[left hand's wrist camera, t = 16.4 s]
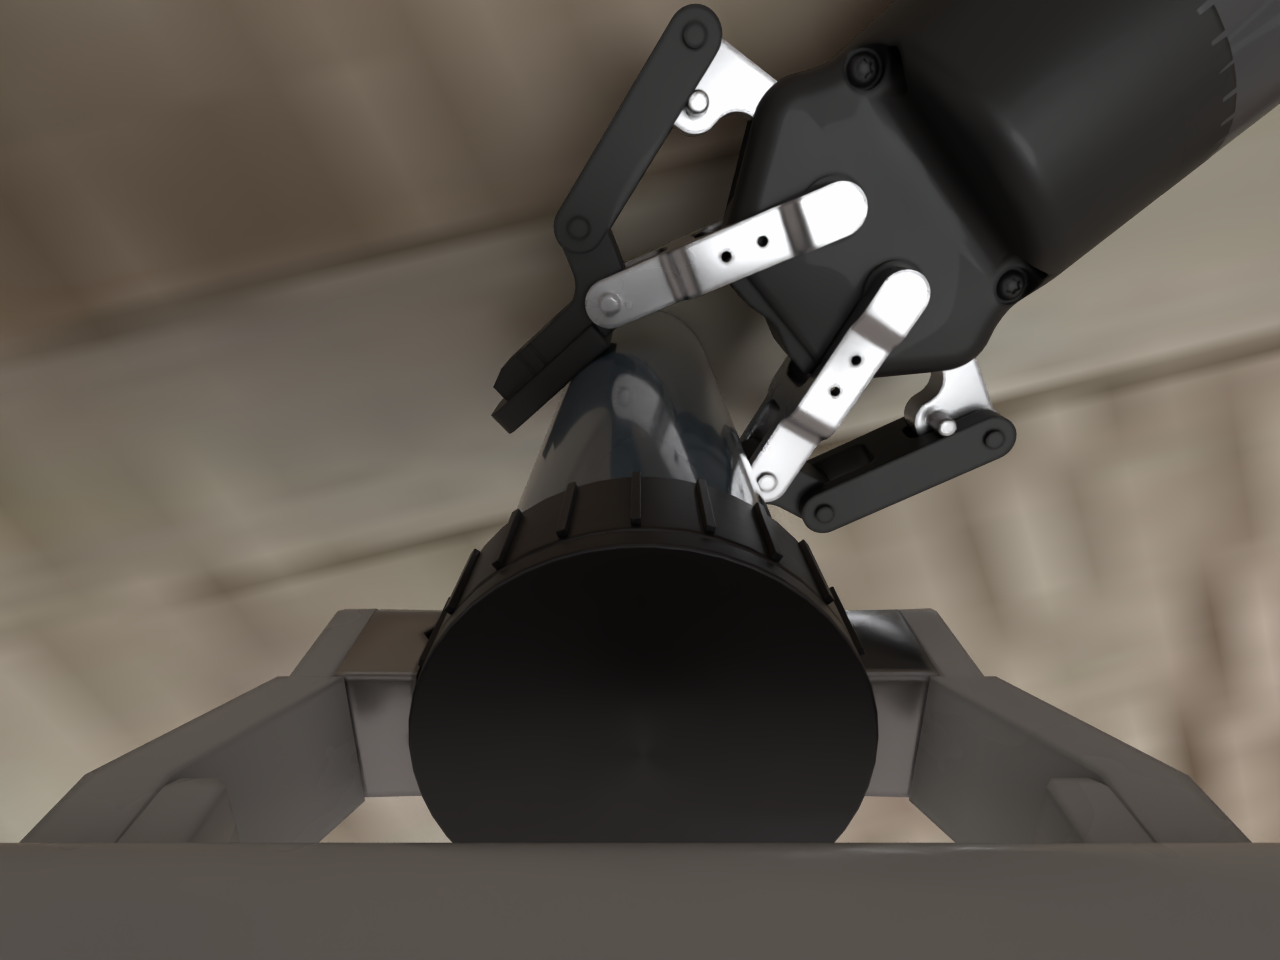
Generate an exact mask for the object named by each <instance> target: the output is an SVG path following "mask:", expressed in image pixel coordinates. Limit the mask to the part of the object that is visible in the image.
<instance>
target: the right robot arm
mask: <svg viewBox="0 0 1280 960" xmlns="http://www.w3.org/2000/svg"><path fill="white" fill-rule="evenodd" d="M1279 104H1280V0H895V1H894V2H893V3H891V4H890V5H889V6H888V7H887V8H886V9H885V10H884V11H883V12H882V13H881V14H880V15H879V16H878V17H876V18H875V19H874V20H873V21H872V22H871V23H870V24H869V25H868V26H867V27H866V28H865V29H864V30H862V31H861V32H860V33H859V34H858V35H857V36H856V37H855V38H854V39H853V40H852V41H851V42H850V43H849V44H847V45H846V46H845V47H844V48H843V49H842V50H841V51H840V52H839V53H838V54H837V55H835V56H834V57H833V58H832V59H831V60H830V61H829V62H827V63H825V64H823V65H821V66H819V67H817V68H814V69H811V70H808V71H803V72H799V73H794V74H791V75H788V76H786V77H784V78H782V79H780V80H779V81H778V82H777V81H776V80H775V79H773V78H772V77H771V76H770V75H768V74H767V73H766V72H765V71H763V70H762V69H761V68H760V67H758V66H757V65H756V64H754V63H753V62H752V61H751V60H749V59H748V58H747V57H746V56H744V55H743V54H742V53H740V52H739V51H738V50H737V49H735V48H734V47H733V46H732V45H730V44H729V43H728V42H727V41H725V40H724V39H723V38H722V28H721V24H720V21H719V19H718V17H717V16H716V14H715V13H714V12H713V11H712V10H711V9H710V8H708V7H706V6H704V5H701V4H690V5H687V6H685V7H683V8H681V9H680V10H678V11H677V12H676V13H675V15H674V16H673V18H672V19H671V21H670V23H669V24H668V26H667V28H666V29H665V31H664V33H663V34H662V36H661V38H660V40H659V41H658V43H657V45H656V46H655V48H654V50H653V51H652V53H651V55H650V57H649V58H648V60H647V62H646V63H645V65H644V67H643V68H642V70H641V72H640V74H639V75H638V77H637V79H636V80H635V82H634V84H633V85H632V87H631V89H630V91H629V92H628V94H627V96H626V97H625V99H624V101H623V102H622V104H621V106H620V108H619V109H618V111H617V113H616V114H615V116H614V118H613V119H612V121H611V123H610V125H609V126H608V128H607V130H606V131H605V133H604V135H603V136H602V138H601V140H600V142H599V143H598V145H597V147H596V148H595V150H594V152H593V153H592V155H591V157H590V159H589V160H588V162H587V164H586V165H585V167H584V169H583V170H582V172H581V174H580V176H579V177H578V179H577V181H576V182H575V184H574V186H573V187H572V189H571V191H570V193H569V194H568V196H567V198H566V199H565V201H564V203H563V204H562V206H561V208H560V210H559V211H558V213H557V215H556V217H555V221H554V233H555V237H556V239H557V241H558V243H559V244H560V245H561V246H562V247H563V250H564V252H565V254H566V257H567V259H568V262H569V264H570V267H571V269H572V271H573V274H574V277H575V282H576V289H575V295H574V298H573V300H572V301H571V302H570V303H569V304H568V305H567V306H566V307H565V308H564V309H563V310H561V311H560V312H559V313H558V314H557V315H556V316H555V317H554V318H553V319H552V320H551V321H550V322H549V323H547V324H546V325H545V326H544V327H543V328H542V329H541V330H540V331H539V332H538V333H537V334H536V335H535V336H533V337H532V338H531V339H530V340H529V341H528V342H527V343H526V344H525V345H524V346H523V347H522V348H521V349H519V350H518V351H517V352H516V353H515V354H514V355H513V356H512V357H511V358H510V359H509V360H508V361H507V363H506V364H505V365H504V366H503V368H502V369H501V371H500V373H499V375H498V378H497V380H496V382H495V385H494V388H495V389H496V390H497V391H498V392H499V394H500V395H501V396H502V397H503V399H502V400H501V402H500V403H499V404H498V406H497V407H496V409H495V410H494V412H493V413H492V415H491V416H492V417H493V418H494V419H495V420H496V421H497V422H498V423H499V424H500V425H501V426H502V427H503V428H504V429H505V430H506V431H507V432H508V433H509V434H511V433H512V432H514V431H515V430H516V429H517V428H519V427H520V426H521V425H522V424H523V423H524V422H525V421H526V420H528V419H529V418H530V417H531V416H532V415H533V414H534V413H535V412H536V411H538V410H539V409H540V408H541V407H542V406H543V405H544V404H545V403H547V402H548V401H549V400H550V399H551V398H552V397H553V396H554V395H556V394H557V393H558V392H559V391H560V390H561V389H562V388H563V387H564V386H566V385H567V384H568V383H569V382H570V381H571V380H572V379H573V378H575V377H576V376H577V375H578V373H579V372H580V371H582V370H583V369H584V368H585V367H587V366H588V365H589V364H590V363H591V362H592V361H594V360H595V359H596V358H597V357H598V356H599V355H600V354H601V353H603V352H604V351H605V350H606V349H607V348H608V347H609V346H610V343H611V339H612V334H613V331H614V330H615V329H616V328H617V327H620V326H622V325H624V324H627V323H629V322H632V321H634V320H636V319H639V318H641V317H644V316H646V315H648V314H651V313H653V312H655V311H658V310H660V309H663V308H665V307H667V306H670V305H672V304H675V303H677V302H680V301H683V300H689V299H692V298H696V297H699V296H701V295H704V294H706V293H709V292H711V291H713V290H716V289H718V288H720V287H723V286H725V285H728V284H730V285H731V286H732V288H733V289H734V290H735V291H736V293H737V294H738V295H739V296H740V297H741V298H742V299H743V300H744V301H745V302H746V303H747V304H748V305H749V306H750V307H752V308H753V309H754V310H756V311H757V312H759V313H760V314H762V315H763V316H764V317H765V319H766V321H767V323H768V326H769V328H770V330H771V332H772V335H773V337H774V339H775V340H776V342H777V343H778V344H779V345H780V346H781V348H782V349H783V350H784V351H785V353H786V354H787V355H788V356H787V357H786V359H785V360H784V362H783V364H782V365H781V367H780V368H779V370H778V371H777V373H776V374H775V376H774V378H773V380H772V381H771V384H770V386H769V389H768V394H767V396H766V398H765V400H764V402H763V403H762V405H761V406H760V408H759V409H758V411H757V412H756V414H755V416H754V417H753V419H752V420H751V422H750V423H749V425H748V426H747V428H746V430H745V431H744V433H743V434H742V436H741V437H740V441H741V444H742V446H743V449H744V451H745V453H746V456H747V458H748V461H749V463H750V466H751V468H752V471H753V473H754V476H755V478H756V481H757V483H758V485H759V488H760V490H761V493H762V495H763V498H764V500H765V503H766V504H771V505H776V506H778V507H781V508H783V509H784V510H786V511H788V512H790V513H792V514H794V515H796V516H798V517H800V518H802V519H803V521H804V523H805V525H806V526H807V527H808V528H809V529H810V530H812V531H814V532H818V533H827V532H831V531H833V530H836V529H838V528H840V527H842V526H845V525H847V524H849V523H852V522H854V521H856V520H859V519H861V518H863V517H865V516H868V515H870V514H872V513H875V512H877V511H879V510H881V509H884V508H886V507H888V506H891V505H893V504H895V503H898V502H900V501H902V500H904V499H907V498H909V497H911V496H914V495H916V494H918V493H921V492H923V491H925V490H927V489H930V488H932V487H934V486H937V485H939V484H941V483H943V482H946V481H948V480H950V479H953V478H955V477H957V476H960V475H962V474H964V473H966V472H969V471H971V470H973V469H976V468H978V467H980V466H983V465H985V464H987V463H989V462H992V461H994V460H996V459H999V458H1001V457H1003V456H1004V455H1006V454H1007V453H1008V452H1009V451H1010V450H1011V449H1012V447H1013V446H1014V443H1015V441H1016V429H1015V427H1014V425H1013V424H1012V422H1011V421H1009V420H1008V419H1006V418H1005V417H1003V416H1001V415H1000V414H999V413H998V412H997V411H995V410H994V408H993V406H992V403H991V400H990V397H989V394H988V391H987V388H986V385H985V383H984V380H983V377H982V374H981V371H980V368H979V365H978V362H977V359H976V357H977V356H978V355H979V353H980V352H981V351H982V350H983V349H984V347H985V346H986V344H987V343H988V341H989V339H990V337H991V335H992V333H993V331H994V329H995V327H996V326H997V324H998V323H999V321H1000V320H1001V318H1002V317H1003V316H1004V315H1005V313H1006V312H1007V311H1008V310H1009V309H1010V308H1011V307H1012V306H1013V305H1014V304H1016V303H1017V302H1018V301H1020V300H1021V299H1023V298H1024V297H1026V296H1027V295H1029V294H1031V293H1032V292H1034V291H1036V290H1037V289H1039V288H1040V287H1042V286H1043V285H1045V284H1046V283H1048V282H1049V281H1051V280H1052V279H1054V278H1055V277H1056V276H1058V275H1059V274H1060V273H1062V272H1063V271H1064V270H1065V269H1067V268H1068V267H1069V266H1071V265H1072V264H1073V263H1074V262H1076V261H1077V260H1078V259H1080V258H1081V257H1082V256H1084V255H1085V254H1086V253H1087V252H1089V251H1090V250H1091V249H1093V248H1094V247H1095V246H1096V245H1098V244H1099V243H1100V242H1102V241H1103V240H1104V239H1105V238H1107V237H1108V236H1109V235H1111V234H1112V233H1113V232H1114V231H1116V230H1117V229H1118V228H1120V227H1121V226H1122V225H1123V224H1125V223H1126V222H1127V221H1129V220H1130V219H1131V218H1133V217H1134V216H1135V215H1136V214H1138V213H1139V212H1140V211H1142V210H1143V209H1144V208H1145V207H1147V206H1148V205H1149V204H1151V203H1152V202H1153V201H1154V200H1156V199H1157V198H1158V197H1160V196H1161V195H1162V194H1164V193H1165V192H1166V191H1168V190H1169V189H1170V188H1172V187H1173V186H1174V185H1175V184H1177V183H1178V182H1179V181H1181V180H1182V179H1183V178H1185V177H1186V176H1187V175H1188V174H1190V173H1191V172H1192V171H1194V170H1195V169H1196V168H1197V167H1199V166H1200V165H1201V164H1203V163H1204V162H1205V161H1206V160H1208V159H1209V158H1210V157H1211V156H1212V155H1214V154H1215V153H1216V152H1218V151H1219V150H1220V149H1222V148H1223V147H1224V146H1225V145H1227V144H1228V143H1229V142H1231V141H1232V140H1233V139H1234V138H1236V137H1237V136H1238V135H1240V134H1241V133H1242V132H1244V131H1245V130H1246V129H1247V128H1249V127H1250V126H1251V125H1253V124H1254V123H1255V122H1257V121H1258V120H1259V119H1260V118H1262V117H1263V116H1264V115H1266V114H1267V113H1268V112H1269V111H1271V110H1272V109H1273V108H1275V107H1276V106H1277V105H1279ZM730 115H736V116H740V117H743V118H745V119H746V120H748V122H747V126H746V130H745V134H744V138H743V142H742V146H741V150H740V154H739V158H738V162H737V166H736V170H735V175H734V179H733V183H732V187H731V191H730V195H729V199H728V203H727V207H726V211H725V215H724V218H723V219H721V220H719V221H717V222H714V223H712V224H710V225H707V226H705V227H703V228H700V229H698V230H696V231H693V232H691V233H689V234H686V235H684V236H682V237H680V238H677V239H675V240H673V241H671V242H669V243H667V244H665V245H663V246H661V247H659V248H657V249H655V250H653V251H650V252H648V253H646V254H643V255H641V256H639V257H636V258H634V259H632V260H629V261H627V262H625V263H624V261H623V259H622V256H621V254H620V251H619V248H618V246H617V243H616V241H615V238H614V235H613V233H612V230H611V227H612V225H613V224H614V222H615V220H616V219H617V217H618V216H619V214H620V212H621V211H622V209H623V207H624V206H625V204H626V203H627V201H628V199H629V198H630V196H631V194H632V193H633V191H634V190H635V188H636V186H637V185H638V183H639V182H640V180H641V178H642V177H643V175H644V173H645V172H646V170H647V169H648V167H649V165H650V164H651V162H652V160H653V159H654V157H655V156H656V154H657V152H658V151H659V149H660V148H661V146H662V144H663V143H664V141H665V139H666V138H667V136H668V135H669V133H670V131H671V130H672V128H674V129H675V130H677V131H678V132H680V133H681V134H683V135H685V136H690V137H696V136H700V135H702V134H704V133H706V132H707V131H708V130H709V129H710V128H711V127H712V126H713V125H714V124H715V123H716V122H717V121H718V120H719V119H721V118H723V117H725V116H730ZM928 372H931V376H930V380H929V382H928V384H927V385H926V386H925V388H924V389H923V390H921V391H920V392H919V393H917V394H915V395H914V396H913V397H911V399H910V400H909V401H908V402H907V404H906V406H905V410H904V417H902V418H900V419H898V420H896V421H893V422H891V423H889V424H887V425H885V426H882V427H880V428H878V429H876V430H874V431H871V432H869V433H867V434H865V435H863V436H860V437H858V438H856V439H854V440H852V441H849V442H847V443H845V444H843V445H841V446H838V447H836V448H834V449H832V450H830V451H827V452H825V453H823V454H821V455H819V456H816V457H814V458H812V459H810V460H808V461H807V459H808V458H809V456H810V455H811V454H812V452H813V451H814V449H815V448H816V446H817V445H818V444H819V443H820V442H821V441H822V440H825V439H828V438H829V437H830V436H831V435H832V434H833V433H834V432H835V431H836V430H837V428H838V427H839V425H840V424H841V423H842V421H843V420H844V418H845V417H846V415H847V414H848V412H849V411H850V410H851V408H852V407H853V405H854V404H855V402H856V401H857V399H858V398H859V397H860V395H861V394H862V392H863V391H864V389H865V388H866V386H867V385H868V384H869V382H870V381H871V379H872V378H876V377H887V376H897V375H907V374H918V373H928ZM833 387H835V389H834V390H833V391H831V389H832V388H833Z"/></svg>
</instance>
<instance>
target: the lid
mask: <svg viewBox="0 0 1280 960" xmlns="http://www.w3.org/2000/svg"><path fill="white" fill-rule="evenodd" d="M864 654H865V651H864V648H863V646H862V644H861V642H860V640H859V638H858V636H857V634H856V632H855V630H854V628H853V626H852V624H851V622H850V620H849V618H848V616H847V614H846V612H845V610H844V608H843V605H842V603H841V601H840V599H839V597H838V595H837V593H836V591H835V589H834V587H830V588H829V587H828V585H827V583H826V581H825V579H824V577H823V575H822V573H821V571H820V568H819V566H818V564H817V562H816V560H815V558H814V556H813V554H812V552H811V550H810V548H809V545H808V544H807V543H806V542H805V540H802V541H800V542H799V543H798V541H797V540H796V539H795V538H794V537H793V536H792V535H791V534H789V533H788V532H787V531H786V530H785V529H784V528H783V527H782V526H781V525H780V524H779V523H778V522H776V521H775V520H774V519H772V518H771V517H769V516H768V515H767V513H766V511H765V508H764V506H763V505H762V504H760V503H759V502H756V503H755V505H754V506H753V505H751V504H749V503H747V502H745V501H743V500H741V499H739V498H737V497H735V496H733V495H731V494H728V493H726V492H723V491H720V490H717V489H715V488H712V487H709V486H707V484H706V480H704V479H700V478H698V479H697V481H696V483H693V482H689V481H684V480H679V479H670V478H660V477H641V472H632V477H623V478H616V479H609V480H602V481H596V482H592V483H589V484H585V485H581V486H577V484H576V482H572V483H569V484H568V485H567V489H566V491H563V492H561V493H558V494H556V495H553V496H551V497H549V498H546V499H544V500H543V501H541V502H539V503H537V504H536V505H534V506H532V507H530V508H529V509H527V510H525V511H523V512H521V511H520V510H519V509H517V510H515V511H514V512H512V514H511V517H510V519H509V522H508V524H506V525H505V526H504V527H502V528H501V529H500V530H499V531H498V533H497V534H496V535H495V536H494V537H493V538H492V539H491V540H490V541H489V542H488V543H487V544H486V545H485V546H484V547H483V549H482V550H481V551H478V550H477V549H474V550H473V552H472V553H471V555H470V557H469V559H468V561H467V563H466V565H465V567H464V569H463V571H462V573H461V576H460V578H459V580H458V582H457V584H456V586H455V588H454V590H453V592H452V594H451V597H449V598H448V600H447V602H446V604H445V606H444V609H443V611H442V613H441V615H440V617H439V619H438V621H437V623H436V625H435V627H434V629H433V632H432V634H431V636H430V638H429V640H428V642H427V644H426V646H425V648H424V650H423V652H422V655H421V657H420V659H419V662H418V666H421V667H422V668H421V671H420V674H419V677H418V680H417V683H416V686H415V689H414V692H413V695H412V701H411V707H410V713H409V719H408V729H409V750H410V756H411V762H412V768H413V772H414V775H415V778H416V781H417V784H418V787H419V790H420V793H421V795H422V797H423V799H424V801H425V803H426V805H427V807H428V809H429V811H430V813H431V815H432V816H433V818H434V819H435V821H436V822H437V823H438V825H439V826H440V828H441V829H442V830H443V832H444V833H445V835H446V836H447V837H448V838H449V839H450V840H451V842H452V843H834V842H835V841H836V840H837V839H838V838H839V836H840V835H841V834H842V833H843V832H844V831H845V829H846V828H847V826H848V824H849V823H850V821H851V820H852V818H853V817H854V815H855V814H856V812H857V811H858V809H859V807H860V805H861V802H862V800H863V798H864V796H865V794H866V792H867V789H868V787H869V784H870V780H871V777H872V773H873V770H874V766H875V763H876V755H877V746H878V738H879V733H878V712H877V707H876V702H875V697H874V693H873V688H872V685H871V682H870V680H869V677H868V675H867V672H866V670H865V667H864V664H863V662H862V660H861V658H860V656H862V655H864Z"/></svg>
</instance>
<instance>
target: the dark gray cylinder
mask: <svg viewBox="0 0 1280 960" xmlns="http://www.w3.org/2000/svg"><path fill="white" fill-rule="evenodd" d="M632 472H641V477H660V478H670V479H679V480H684V481H689V482H693V483H696V481H697V479H698V478H700V479H704V480H706V484H707V486H709V487H712V488H715V489H717V490H720V491H723V492H726V493H728V494H731V495H733V496H735V497H737V498H739V499H741V500H743V501H745V502H747V503H749V504H751V505H753V506H754V505H755V503H756V502H759V503H760V504H762V505H763V506H764V508H765V511H766V513H767V515H768V516H769V517H771V515H770V513H769V510H768V508H767V505H766V503H765V500H764V498H763V495H762V493H761V490H760V488H759V485H758V483H757V481H756V478H755V476H754V473H753V471H752V468H751V466H750V463H749V461H748V458H747V456H746V453H745V451H744V449H743V446H742V444H741V441H740V439H739V436H738V434H737V431H736V429H735V426H734V424H733V422H732V419H731V417H730V414H729V412H728V409H727V407H726V404H725V402H724V399H723V397H722V394H721V392H720V390H719V387H718V385H717V382H716V380H715V377H714V375H713V372H712V370H711V367H710V365H709V362H708V360H707V358H706V355H705V353H704V350H703V348H702V345H701V343H700V342H699V340H698V338H697V337H696V335H695V334H694V333H693V332H692V330H691V329H690V328H689V327H688V326H687V325H686V324H684V323H683V322H682V321H680V320H679V319H678V318H676V317H674V316H672V315H670V314H668V313H665V312H663V311H659V310H658V311H655V312H653V313H651V314H648V315H646V316H644V317H641V318H639V319H636V320H634V321H632V322H629V323H627V324H624V325H622V326H620V327H617V328H616V329H615V330H614V331H613V334H612V339H611V343H610V346H609V347H608V348H607V349H606V350H605V351H604V352H603V353H601V354H600V355H599V356H598V357H597V358H596V359H595V360H594V361H592V362H591V363H590V364H589V365H588V366H587V367H585V368H584V369H583V370H582V371H580V372H579V373H578V375H577V376H576V377H575V378H573V379H572V380H571V381H570V382H569V383H568V384H567V385H566V386H565V389H564V391H563V394H562V396H561V399H560V401H559V404H558V406H557V409H556V412H555V414H554V417H553V419H552V422H551V424H550V427H549V429H548V432H547V434H546V437H545V439H544V442H543V444H542V447H541V449H540V452H539V454H538V457H537V459H536V462H535V464H534V467H533V469H532V472H531V474H530V477H529V480H528V482H527V485H526V487H525V490H524V492H523V495H522V497H521V500H520V502H519V505H518V507H517V509H519V510H520V511H521V512H523V511H525V510H527V509H529V508H530V507H532V506H534V505H536V504H537V503H539V502H541V501H543V500H544V499H546V498H549V497H551V496H553V495H556V494H558V493H561V492H563V491H566V489H567V485H568V484H569V483H572V482H576V484H577V486H581V485H585V484H589V483H592V482H596V481H602V480H609V479H616V478H623V477H632ZM771 518H772V517H771Z"/></svg>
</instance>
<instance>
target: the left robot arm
mask: <svg viewBox="0 0 1280 960" xmlns="http://www.w3.org/2000/svg"><path fill="white" fill-rule="evenodd" d="M442 611H443V610H395V609H380V610H378V609H344V610H340V611H338V612H337V613H336V614H335V615H334V617H333V618H332V619H331V621H330V622H329V623H328V625H327V626H326V628H325V629H324V630H323V632H322V633H321V634H320V636H319V637H318V638H317V640H316V641H315V642H314V644H313V645H312V646H311V648H310V649H309V650H308V652H307V653H306V655H305V656H304V657H303V659H302V660H301V661H300V663H299V664H298V665H297V667H296V668H295V669H294V671H293V672H292V673H291V675H290V676H282V677H276V678H274V679H272V680H270V681H268V682H266V683H264V684H262V685H260V686H258V687H256V688H254V689H252V690H250V691H248V692H246V693H244V694H242V695H240V696H239V697H237V698H235V699H233V700H231V701H229V702H227V703H225V704H223V705H221V706H219V707H217V708H215V709H213V710H211V711H209V712H207V713H205V714H203V715H201V716H199V717H197V718H195V719H193V720H191V721H189V722H187V723H185V724H184V725H182V726H180V727H178V728H176V729H174V730H172V731H170V732H168V733H166V734H164V735H162V736H160V737H158V738H156V739H154V740H152V741H150V742H148V743H146V744H144V745H142V746H140V747H138V748H136V749H134V750H132V751H131V752H129V753H127V754H125V755H123V756H121V757H119V758H117V759H115V760H113V761H111V762H109V763H107V764H105V765H103V766H101V767H99V768H97V769H95V770H93V771H91V772H89V773H87V774H85V775H84V776H83V777H82V778H81V779H80V780H79V781H78V782H77V783H76V784H75V785H74V787H73V788H72V789H71V790H70V791H69V792H68V793H67V794H66V795H65V796H64V797H63V798H62V799H61V800H60V801H59V802H58V803H57V804H56V805H55V806H54V807H53V808H52V809H51V810H50V811H49V812H48V813H47V814H46V815H45V816H44V818H43V819H42V820H41V821H40V822H39V823H38V824H37V825H36V826H35V827H34V828H33V829H32V830H31V831H30V832H29V833H28V834H27V835H26V836H25V837H24V838H23V839H22V840H21V841H20V842H19V843H0V960H1280V843H1252V842H1251V841H1250V840H1249V839H1248V838H1247V837H1246V836H1245V835H1244V834H1243V833H1242V832H1241V830H1240V829H1239V828H1238V827H1237V826H1236V825H1235V824H1234V823H1233V822H1232V821H1231V820H1230V819H1229V818H1228V817H1227V816H1226V815H1225V814H1224V813H1223V811H1222V810H1221V809H1220V808H1219V807H1218V806H1217V805H1216V804H1215V803H1214V802H1213V801H1212V800H1211V799H1210V798H1209V797H1208V796H1207V795H1206V794H1205V792H1204V791H1203V790H1202V789H1201V788H1200V787H1199V786H1198V785H1197V784H1196V783H1195V782H1194V781H1193V780H1192V779H1191V778H1190V777H1189V776H1188V775H1186V774H1184V773H1182V772H1180V771H1178V770H1176V769H1174V768H1173V767H1171V766H1169V765H1167V764H1165V763H1163V762H1161V761H1159V760H1157V759H1155V758H1153V757H1151V756H1149V755H1147V754H1145V753H1143V752H1141V751H1140V750H1138V749H1136V748H1134V747H1132V746H1130V745H1128V744H1126V743H1124V742H1122V741H1120V740H1118V739H1116V738H1114V737H1112V736H1110V735H1108V734H1107V733H1105V732H1103V731H1101V730H1099V729H1097V728H1095V727H1093V726H1091V725H1089V724H1087V723H1085V722H1083V721H1081V720H1079V719H1077V718H1075V717H1074V716H1072V715H1070V714H1068V713H1066V712H1064V711H1062V710H1060V709H1058V708H1056V707H1054V706H1052V705H1050V704H1048V703H1046V702H1044V701H1042V700H1040V699H1039V698H1037V697H1035V696H1033V695H1031V694H1029V693H1027V692H1025V691H1023V690H1021V689H1019V688H1017V687H1015V686H1013V685H1011V684H1009V683H1007V682H1006V681H1004V680H1002V679H1000V678H998V677H992V676H984V675H983V674H982V673H981V671H980V670H979V668H978V667H977V666H976V664H975V663H974V662H973V660H972V659H971V658H970V656H969V655H968V653H967V652H966V651H965V649H964V648H963V647H962V645H961V644H960V643H959V641H958V640H957V638H956V637H955V636H954V634H953V633H952V632H951V630H950V629H949V628H948V626H947V625H946V623H945V622H944V621H943V619H942V618H941V617H940V615H939V614H938V613H937V611H935V610H932V609H930V608H927V609H902V610H861V611H845V612H846V614H847V616H848V618H849V620H850V622H851V624H852V626H853V628H854V630H855V632H856V634H857V636H858V638H859V640H860V642H861V644H862V646H863V648H864V651H865V654H864V655H862V656H860V658H861V660H862V662H863V664H864V667H865V670H866V672H867V675H868V677H869V680H870V682H871V685H872V688H873V693H874V697H875V702H876V707H877V712H878V733H879V738H878V746H877V755H876V763H875V766H874V770H873V773H872V777H871V780H870V784H869V787H868V789H867V792H866V794H865V796H884V797H909V801H910V802H912V803H913V804H914V805H915V806H916V807H917V808H918V809H919V810H920V811H921V812H922V813H924V814H925V815H926V816H927V817H928V818H929V819H930V820H931V821H932V822H933V823H935V824H936V825H937V826H938V827H939V828H940V829H941V830H942V831H943V832H944V833H945V834H947V835H948V836H949V837H950V838H951V839H952V840H953V841H954V842H955V843H319V842H320V841H321V840H322V839H323V838H324V837H325V836H326V835H328V834H329V833H330V832H331V831H332V830H333V829H334V828H335V827H336V826H337V825H339V824H340V823H341V822H342V821H343V820H344V819H345V818H346V817H347V816H349V815H350V814H351V813H352V812H353V811H354V810H355V809H356V808H357V807H358V806H360V805H361V804H362V803H363V802H364V801H365V798H364V797H389V796H422V795H421V793H420V790H419V787H418V784H417V781H416V778H415V775H414V772H413V768H412V762H411V756H410V750H409V729H408V719H409V713H410V707H411V701H412V695H413V692H414V689H415V686H416V683H417V680H418V677H419V674H420V671H421V668H422V667H421V666H418V662H419V659H420V657H421V655H422V652H423V650H424V648H425V646H426V644H427V642H428V640H429V638H430V636H431V634H432V632H433V629H434V627H435V625H436V623H437V621H438V619H439V617H440V615H441V613H442Z"/></svg>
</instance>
